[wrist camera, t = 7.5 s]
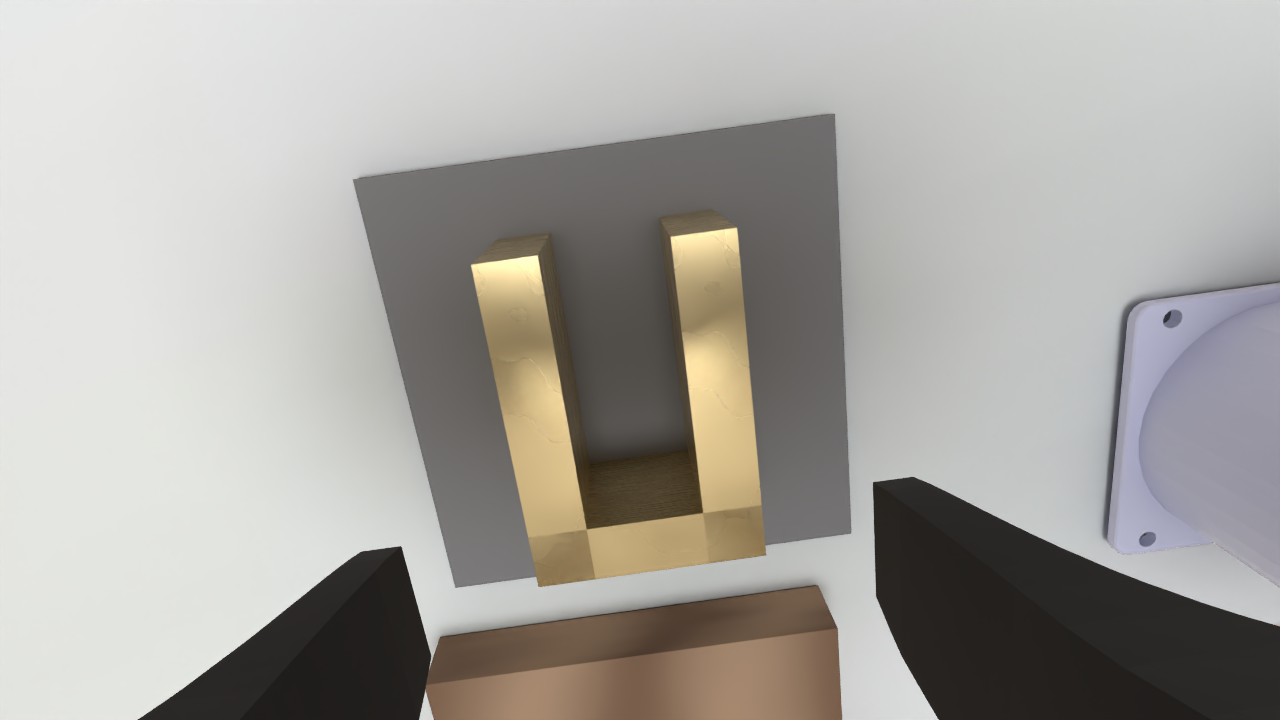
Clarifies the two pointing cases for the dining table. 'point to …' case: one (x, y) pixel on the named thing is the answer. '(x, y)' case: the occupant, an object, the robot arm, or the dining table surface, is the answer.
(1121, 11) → the dining table surface
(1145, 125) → the dining table surface
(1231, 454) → the robot arm
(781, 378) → the mat
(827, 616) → the peg stand
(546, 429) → the u link
